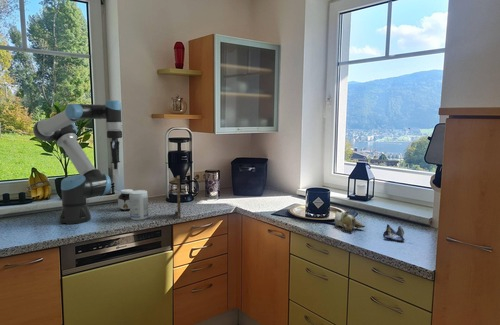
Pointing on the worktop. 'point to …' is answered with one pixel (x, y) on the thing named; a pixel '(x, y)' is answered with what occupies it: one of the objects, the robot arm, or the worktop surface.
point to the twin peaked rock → (394, 234)
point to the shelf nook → (177, 180)
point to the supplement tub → (138, 204)
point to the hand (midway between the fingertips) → (116, 174)
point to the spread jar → (124, 200)
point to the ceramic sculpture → (346, 221)
